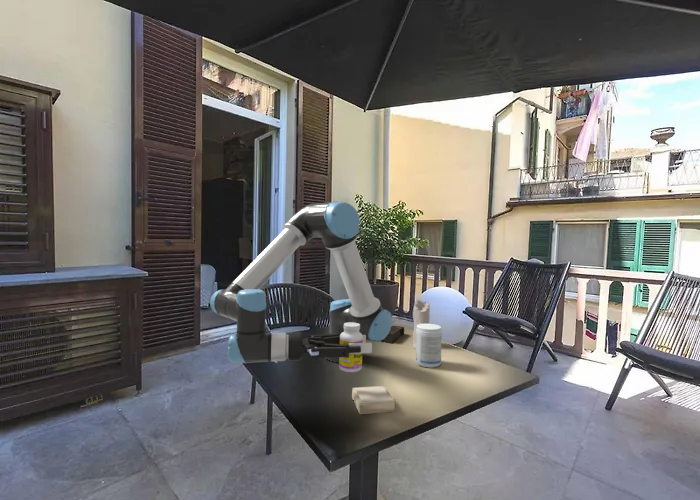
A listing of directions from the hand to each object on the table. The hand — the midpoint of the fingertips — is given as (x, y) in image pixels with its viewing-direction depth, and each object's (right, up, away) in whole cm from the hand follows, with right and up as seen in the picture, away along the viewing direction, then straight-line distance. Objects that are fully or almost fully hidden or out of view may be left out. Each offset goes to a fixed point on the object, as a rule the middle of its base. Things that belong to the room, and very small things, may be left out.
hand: (368, 343), depth 101 cm
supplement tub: (+25, -17, +34) cm, 46 cm away
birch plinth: (+1, -18, +1) cm, 18 cm away
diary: (+7, -16, +71) cm, 73 cm away
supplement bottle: (-5, -7, -1) cm, 9 cm away
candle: (+27, -16, +55) cm, 63 cm away
